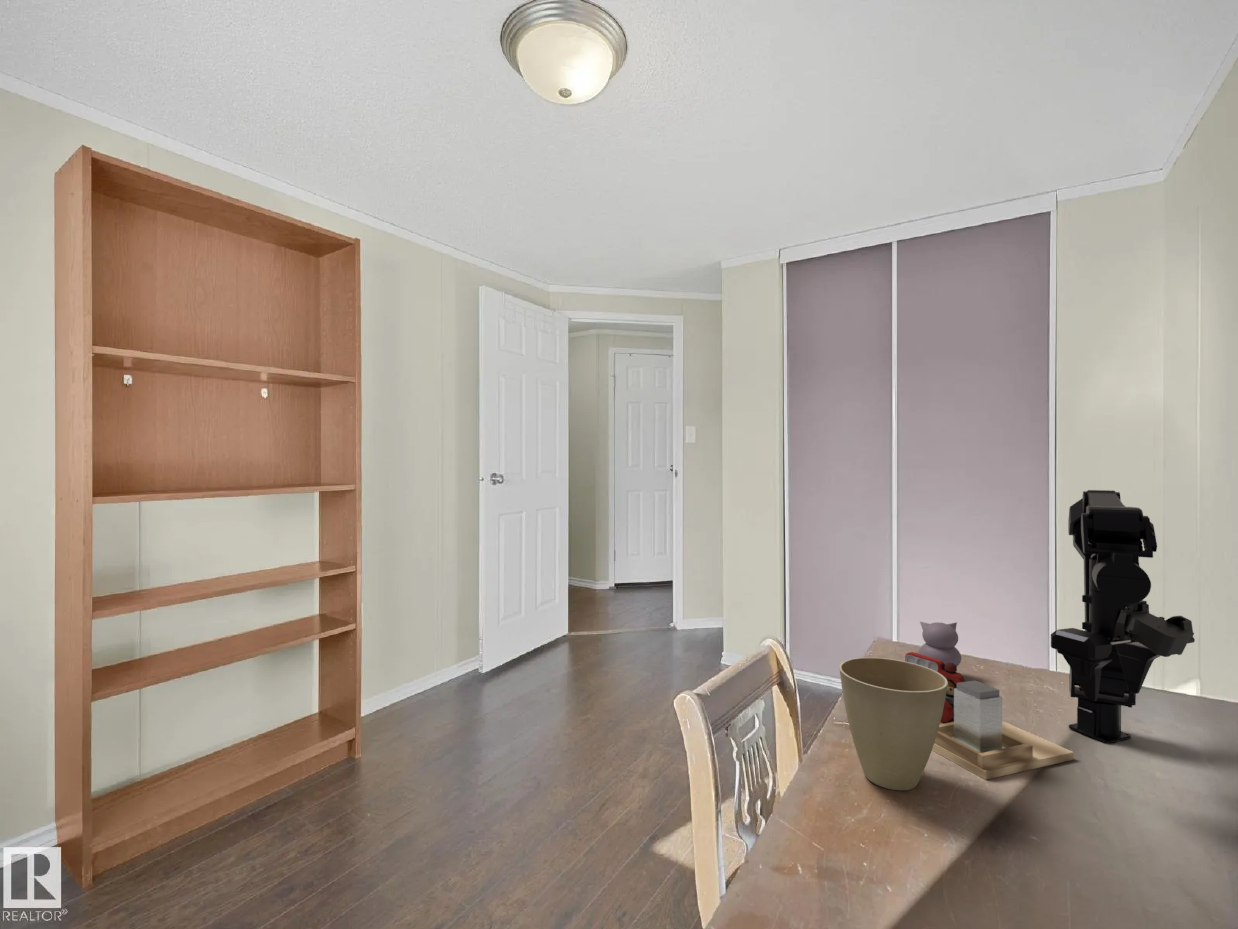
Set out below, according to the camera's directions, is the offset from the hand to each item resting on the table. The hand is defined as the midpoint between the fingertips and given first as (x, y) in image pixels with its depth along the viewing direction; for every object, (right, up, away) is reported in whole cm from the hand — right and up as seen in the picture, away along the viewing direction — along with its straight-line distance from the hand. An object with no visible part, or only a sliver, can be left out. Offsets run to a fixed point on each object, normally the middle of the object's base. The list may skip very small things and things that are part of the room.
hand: (1113, 696), depth 89 cm
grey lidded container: (-15, -12, +9) cm, 21 cm away
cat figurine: (-2, -13, +45) cm, 47 cm away
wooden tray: (-11, -13, +10) cm, 20 cm away
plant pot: (-32, -13, +2) cm, 35 cm away
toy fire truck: (-13, -13, +25) cm, 31 cm away
